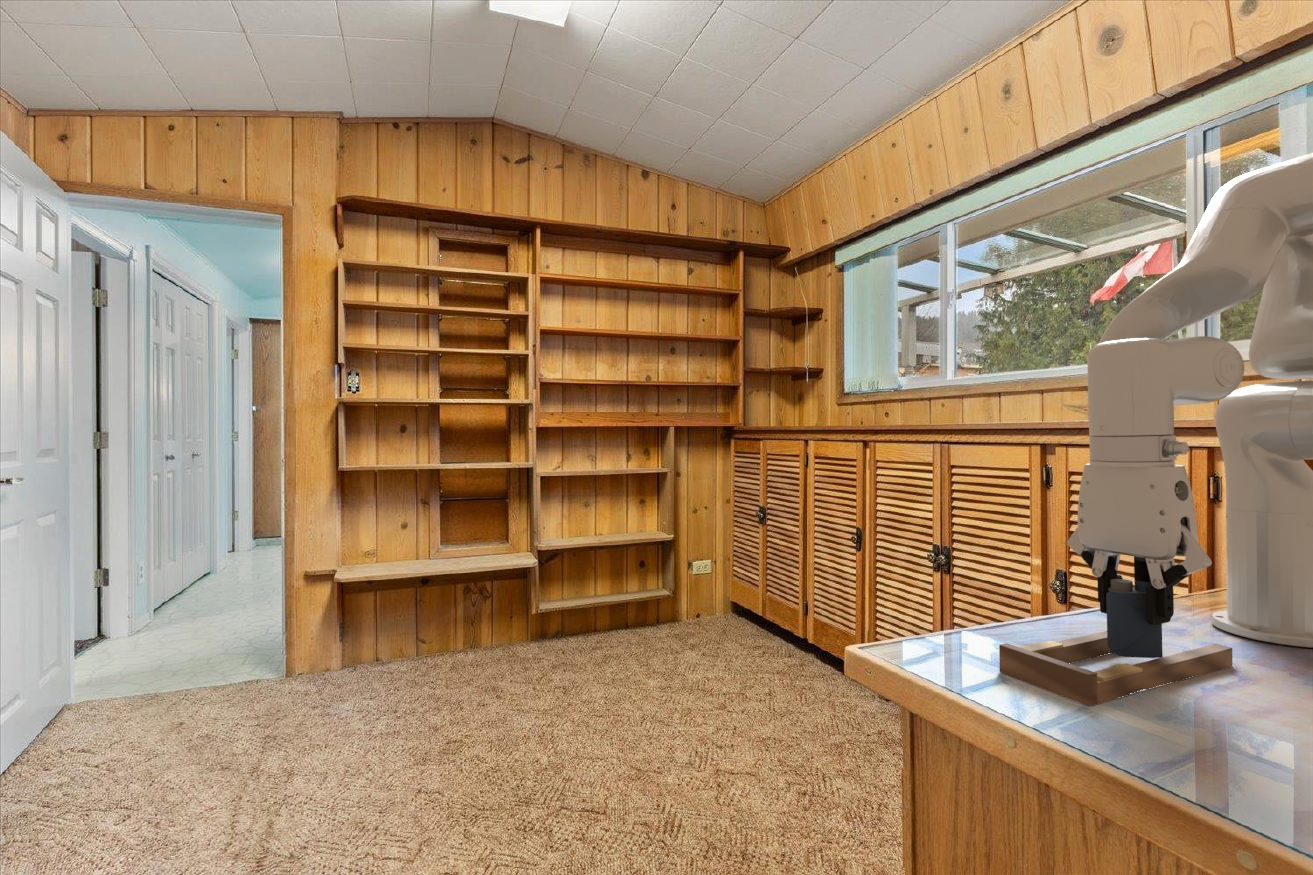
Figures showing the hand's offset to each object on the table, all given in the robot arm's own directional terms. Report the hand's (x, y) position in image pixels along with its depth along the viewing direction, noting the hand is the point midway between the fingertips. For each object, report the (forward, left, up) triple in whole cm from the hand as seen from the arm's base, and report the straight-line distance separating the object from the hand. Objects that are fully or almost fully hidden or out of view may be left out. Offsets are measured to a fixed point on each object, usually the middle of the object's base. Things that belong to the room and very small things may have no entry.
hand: (1134, 615), depth 70 cm
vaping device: (0, 0, -5) cm, 5 cm away
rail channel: (+3, 0, -6) cm, 6 cm away
